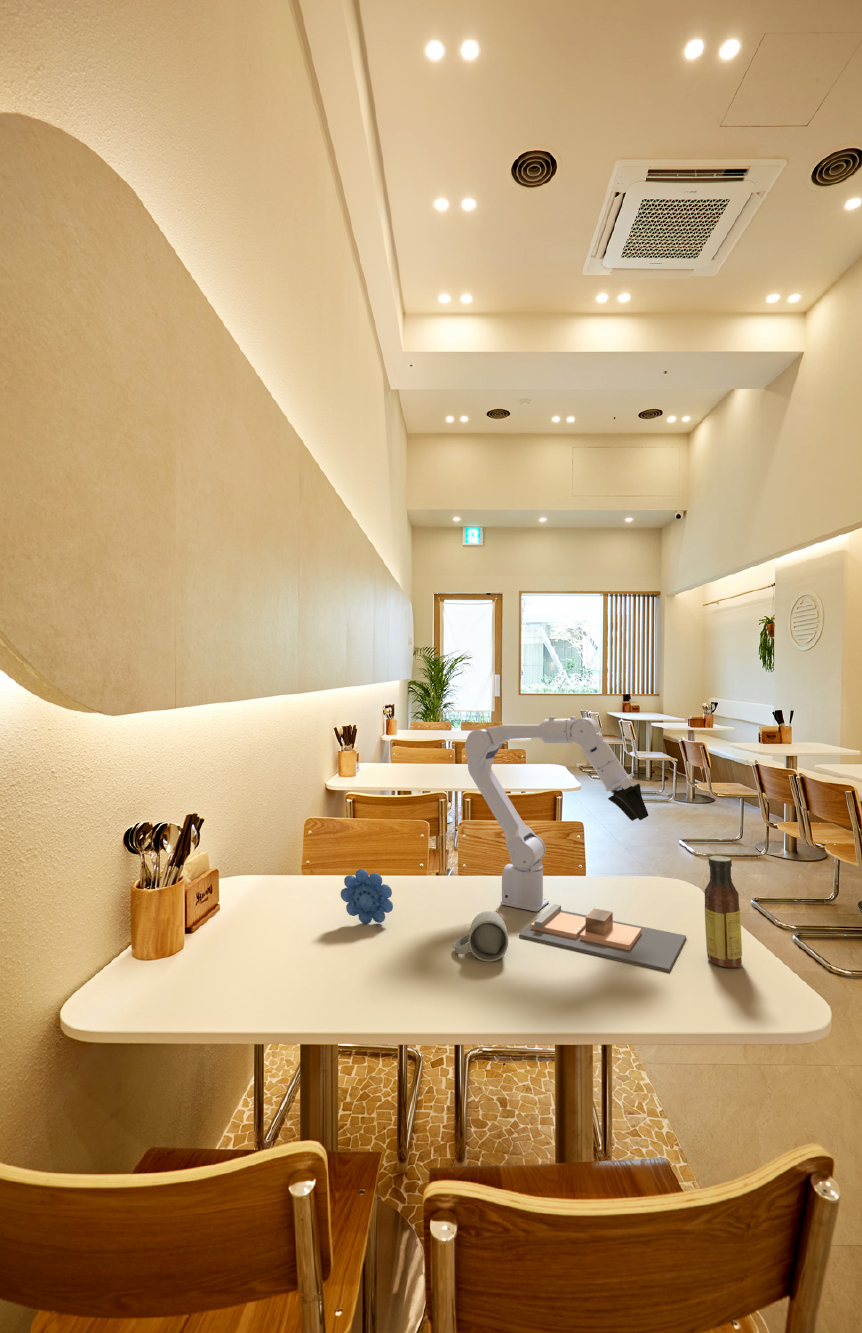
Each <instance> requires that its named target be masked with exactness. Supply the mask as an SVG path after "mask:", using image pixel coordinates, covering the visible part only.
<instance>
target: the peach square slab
mask: <svg viewBox="0 0 862 1333" xmlns="http://www.w3.org/2000/svg"><path fill="white" fill-rule="evenodd" d="M613 919H614V914H613V911H610V910H606V909H605V910H604V909H600V908H593V909H592V910H591V911H590V912H589V913H588V914H587V916H586V917H585V930H584V931H583V932H582V933H581V934H580V940H585V941H589V942H594V943H598V944H603V945H607V946H612V947H616V948H620V949H625V950H629V951H630V949H631V948H632V946H633V945H634V943H635V942H636V940H637V939H638V938H639V936H640V935H641V928H637V927H632V926H627V925H622V924H617V923H613V921H614V920H613Z"/></svg>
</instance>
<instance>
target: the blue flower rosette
mask: <svg viewBox="0 0 862 1333" xmlns="http://www.w3.org/2000/svg"><path fill="white" fill-rule="evenodd" d="M354 875H355V876H354ZM354 875H351V874H349V875H347V876H345V878H344V879H343V883H344V886H345V888H342V889H341V891H340V898H341V899H342V901H343V902H344V903H347V904H346V906H345V909H346V913H347V914H348V915H349V916H352V917H356V916H358V920H359V921H360V922H361V923H362V924H363V925H369V924H370V923H371V922H372V920H373V921H374V922H375V923H378V924H381V923H383V922H385V919H386V914H385V913H387V914H388V913H389V914H390V913H391V912H392V911H393V909H394V904H393V902H392V901H391V900H390V898H391V897H392V894H393V891H392V888H391V887H390V885H388V884H384V883H383V877H382V876H381V875H380V874H379V873H377V872H372V873H370V874H369V873H368V872H367V870H365V869H362V868H360V869H358V870H356V871H355V874H354Z"/></svg>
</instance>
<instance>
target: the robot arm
mask: <svg viewBox="0 0 862 1333" xmlns="http://www.w3.org/2000/svg"><path fill="white" fill-rule="evenodd" d="M537 738H538V739H540V740H542V741H543V742H544V743H545V744H572V743H576V744H578V745H579V746H580V747H581V749H582V751H583V752H584V755H585V757H586V758H587V761H588V762H589V763H590V765H591V766H592V768H593V769H594V771H595V773H596V774H597V776H598V777H599V779H600V781H601V782H602V784H603V785H604V787H605V790H606V792H607V793H608V792H610V794H612V795H611V796H609V797H608V798H607V800H608V801H610V802H612V803H613V804H614V805H616V806H617V807H618V808H619V809H620V810H621V811H622V812H623V813H624V814H625V816H626V817H627V818H628V819H629V820H630V821H632V822H634V821H635V820H637V819H638V820H639V821H642V820H644V819H646V818H647V817H649V816H650V815H649V813H648V809H647V807H646V805H645V802H644V800H643V797H642V796H643V795H642V791H641V784H640V782H639V783H636V784H634V785H633V782H632V781H631V779H632V778H633V777H635V774H634V773H633V772H632V773H630V774H628V773H627V771H626V770H625V768H624V767H623V765H622V763H621V762H620V760H619V759H618V757H617V756H616V754H615V752H614V751H613V750H612V747H611V746H610V744H609V743H608V741H606V739H605V738H604V736H603V735H602V733H601V732H600V725H599V724H598V722H597V721H596V720H595V719H594V718H590V717H586V716H583V717H581V718H579V719H578V718H577V717H576V716H574V715H573V716H570V717H569V718H557V717H556V716H552V715H551V716H548V718H545V719H543V721H541V723H540V724H507V723H506V724H501V725H496V726H489V727H488V726H487V727H485V728H481V729H474V730H472V731H471V732H469V734H468V735H467V737H466V741H465V743H464V750H465V752H466V760H467V769H468V770H467V771H468V773H469V774H470V776H471V778H472V780H473V782H474V783H475V786H476V787H477V788H478V790H479V792H480V794H481V795H482V798H483V799H484V800H485V802H486V804H487V805H488V808H489V809H490V811H491V812H492V815H493V816H494V818H495V820H496V821H497V824H498V825H499V826H500V828H501V830H502V832H503V833H504V836H505V846H506V849H507V850H508V855H509V860H510V862H511V863H507V864H506V865H505V866H504V868H503V869H502V870H503V871H502V874H501V901H500V905H503V906H506V907H507V906H508V907H513V908H517V909H521V910H525V911H526V910H527V911H530V912H531V911H532V912H539V911H540V910H542V909H543V907H545V905H547V904H548V903H549V902H550V901H549V899H546V898H544V864H543V863H542V859H543V858H544V856H545V855H546V845H545V844H546V843H544V840H543V839H542V838H541V837H540V836H538V835H537V834H536V833H535V832H534V831H533V829H532V828H531V827H529V826H528V825H526V823H524V821H523V819H522V818H521V816H520V815H519V813H518V811H517V809H516V807H515V806H514V804H513V802H512V801H511V799H510V798H509V796H508V794H507V792H506V791H505V789H504V787H503V786H502V784H501V783H500V781H499V779H498V777H497V776H496V774H495V773H494V771H493V769H492V766H493V763H494V759H495V756H496V755H497V753H498V752H499V751H500V749H501V748H502V745H503V744H505V743H507V742H509V741H511V740H516V739H537Z"/></svg>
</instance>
